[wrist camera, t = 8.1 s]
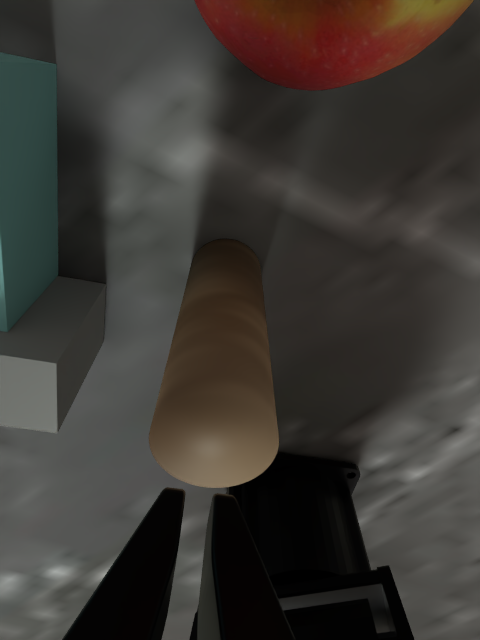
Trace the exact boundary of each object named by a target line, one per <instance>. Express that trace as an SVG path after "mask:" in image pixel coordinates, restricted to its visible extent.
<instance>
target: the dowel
mask: <svg viewBox="0 0 480 640" xmlns="http://www.w3.org/2000/svg"><path fill="white" fill-rule="evenodd" d="M149 444H150V449H151V452H152V454H153V456H154V458H155V459H156V461H157V462H158V464H159V465H160V466H161V467H162V468H163V469H164V470H165V471H167V472H168V473H169V474H170V475H172V476H174V477H175V478H177V479H179V480H181V481H183V482H186V483H189V484H192V485H196V486H201V487H209V488H222V487H230V486H236V485H239V484H243V483H245V482H248V481H250V480H252V479H254V478H256V477H257V476H259V475H260V474H262V473H263V472H264V471H265V470H266V469H267V468H268V467H269V466H270V465H271V463H272V462H273V460H274V459H275V456H276V454H277V451H278V447H279V435H278V426H277V417H276V407H275V398H274V389H273V379H272V370H271V361H270V351H269V342H268V333H267V323H266V314H265V305H264V295H263V286H262V277H261V268H260V263H259V260H258V258H257V256H256V255H255V253H254V252H253V251H252V250H251V249H250V248H249V247H248V246H247V245H245V244H243V243H241V242H239V241H236V240H232V239H218V240H214V241H211V242H209V243H207V244H206V245H204V246H203V247H202V248H201V249H200V250H199V251H198V252H197V253H196V255H195V256H194V258H193V261H192V264H191V268H190V272H189V276H188V280H187V284H186V288H185V292H184V296H183V300H182V304H181V308H180V312H179V316H178V320H177V324H176V328H175V332H174V336H173V340H172V344H171V348H170V352H169V356H168V360H167V364H166V368H165V372H164V376H163V380H162V384H161V388H160V392H159V396H158V400H157V404H156V408H155V412H154V416H153V420H152V424H151V428H150V433H149Z"/></svg>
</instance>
